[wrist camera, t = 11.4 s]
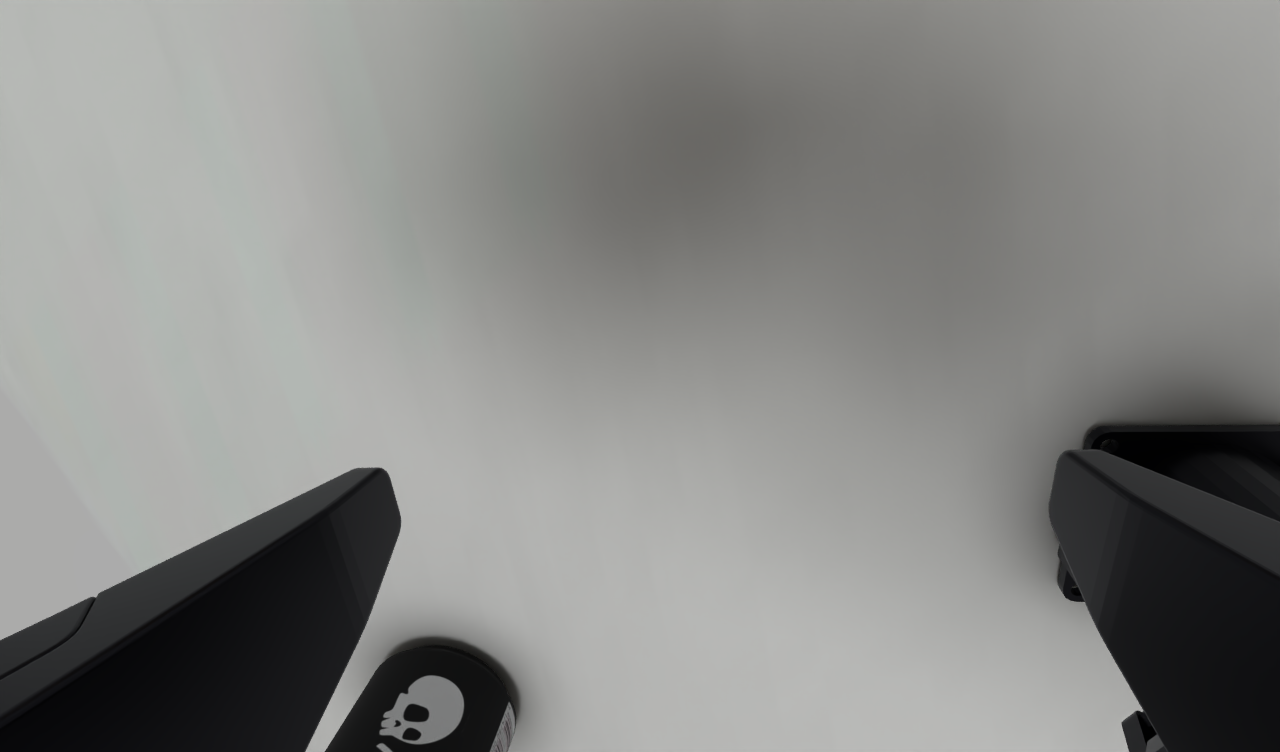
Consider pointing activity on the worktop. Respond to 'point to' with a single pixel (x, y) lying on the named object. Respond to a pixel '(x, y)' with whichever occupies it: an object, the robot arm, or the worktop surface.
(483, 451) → the worktop surface
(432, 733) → the beverage can
